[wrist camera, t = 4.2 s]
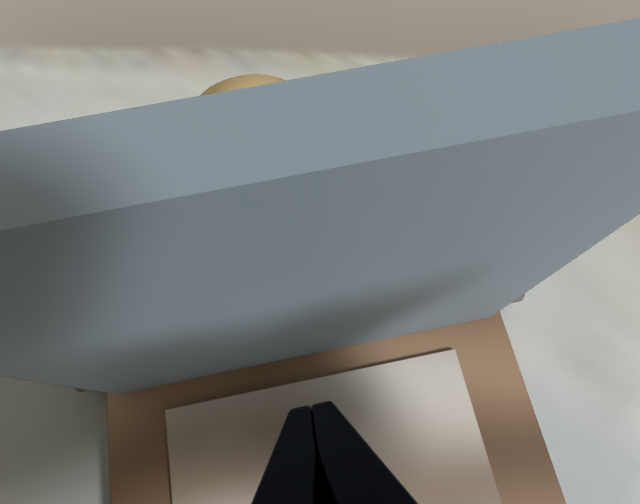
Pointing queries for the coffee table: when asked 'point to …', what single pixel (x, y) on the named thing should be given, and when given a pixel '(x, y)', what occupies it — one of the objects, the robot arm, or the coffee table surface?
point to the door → (311, 209)
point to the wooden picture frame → (360, 410)
